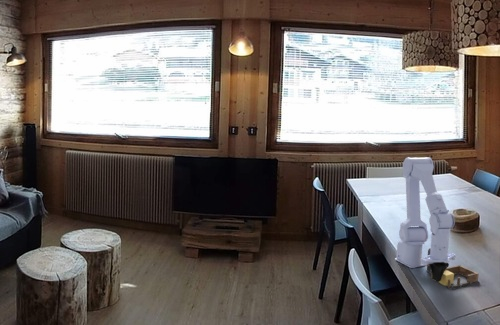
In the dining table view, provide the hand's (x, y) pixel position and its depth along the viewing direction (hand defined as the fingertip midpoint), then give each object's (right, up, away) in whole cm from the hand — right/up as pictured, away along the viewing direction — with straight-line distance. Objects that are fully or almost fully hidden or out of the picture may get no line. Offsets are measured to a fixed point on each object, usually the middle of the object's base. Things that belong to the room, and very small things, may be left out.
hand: (436, 280), depth 141 cm
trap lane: (+8, -1, +4) cm, 9 cm away
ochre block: (+4, -1, +2) cm, 4 cm away
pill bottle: (+4, 0, +10) cm, 11 cm away
